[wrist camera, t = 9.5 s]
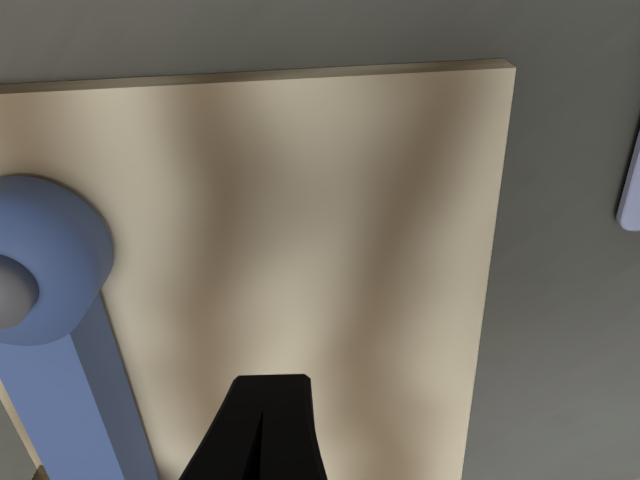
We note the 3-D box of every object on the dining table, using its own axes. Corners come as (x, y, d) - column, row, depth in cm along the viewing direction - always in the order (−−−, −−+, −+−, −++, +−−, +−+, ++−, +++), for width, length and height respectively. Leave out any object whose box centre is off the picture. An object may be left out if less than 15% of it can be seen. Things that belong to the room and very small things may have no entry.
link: (-62, 178, 17) (-138, 228, 14) (91, 173, 17) (45, 222, 14) (86, 504, 26) (57, 573, 23) (187, 503, 26) (170, 573, 23)
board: (504, 58, 16) (516, 67, 15) (454, 470, 26) (459, 493, 25) (-127, 91, 17) (-157, 101, 16) (63, 477, 27) (53, 499, 26)
